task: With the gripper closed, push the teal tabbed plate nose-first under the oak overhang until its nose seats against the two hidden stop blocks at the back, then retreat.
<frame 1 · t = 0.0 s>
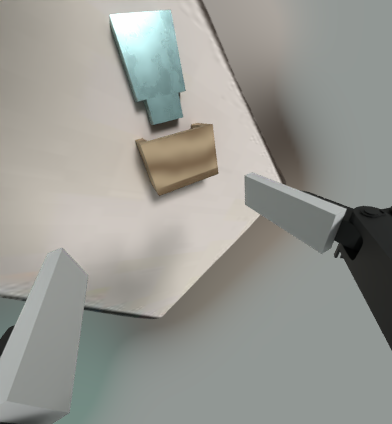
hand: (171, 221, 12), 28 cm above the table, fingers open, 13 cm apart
overhang: (173, 154, 38), on the table
teal tabbed plate: (153, 77, 30), on the table
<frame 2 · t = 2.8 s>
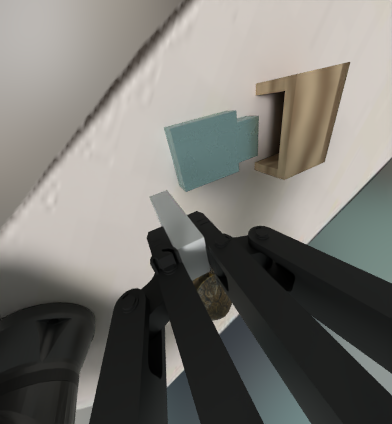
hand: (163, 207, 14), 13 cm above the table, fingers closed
overhang: (276, 125, 31), on the table
turtle shell: (204, 289, 46), on the table
teal tabbed plate: (211, 146, 27), on the table
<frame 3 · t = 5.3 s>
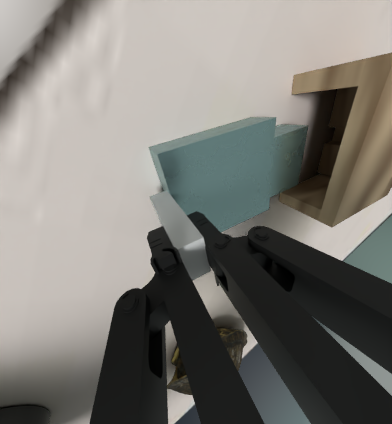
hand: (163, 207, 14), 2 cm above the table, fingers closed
overhang: (315, 139, 21), on the table
turtle shell: (205, 342, 36), on the table
teal tabbed plate: (227, 172, 17), on the table, touching gripper
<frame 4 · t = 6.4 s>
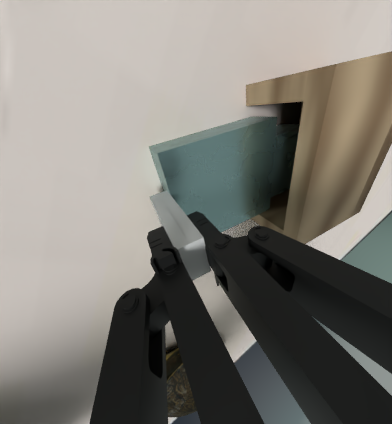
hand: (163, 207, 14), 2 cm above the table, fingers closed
overhang: (282, 152, 19), on the table
turtle shell: (182, 357, 35), on the table
teal tabbed plate: (228, 172, 17), on the table, touching gripper
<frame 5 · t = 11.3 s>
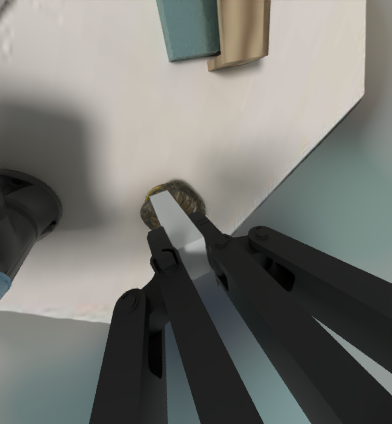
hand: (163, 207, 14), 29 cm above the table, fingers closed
overhang: (224, 22, 33), on the table
turtle shell: (173, 209, 49), on the table
teal tabbed plate: (196, 25, 32), on the table
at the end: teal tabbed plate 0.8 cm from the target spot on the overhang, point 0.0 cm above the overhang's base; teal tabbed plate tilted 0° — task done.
